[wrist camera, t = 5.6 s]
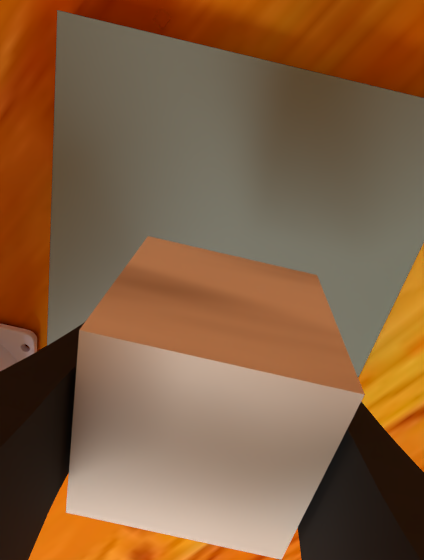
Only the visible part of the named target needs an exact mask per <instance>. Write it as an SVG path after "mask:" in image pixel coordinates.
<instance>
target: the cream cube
mask: <svg viewBox="0 0 424 560" xmlns="http://www.w3.org/2000/svg"><path fill="white" fill-rule="evenodd" d="M364 395H365V394H364V392H363V389H362V387H361V384H360V382H359V379H358V377H357V374H356V372H355V369H354V367H353V364H352V362H351V359H350V357H349V354H348V352H347V349H346V347H345V344H344V342H343V339H342V337H341V334H340V332H339V329H338V327H337V324H336V322H335V319H334V317H333V314H332V312H331V309H330V307H329V304H328V302H327V299H326V297H325V294H324V291H323V289H322V286H321V284H320V281H319V279H318V276H317V275H314V274H310V273H306V272H301V271H297V270H293V269H288V268H284V267H280V266H275V265H271V264H267V263H262V262H258V261H254V260H249V259H245V258H241V257H236V256H232V255H228V254H223V253H219V252H215V251H210V250H206V249H202V248H197V247H193V246H189V245H184V244H180V243H176V242H171V241H167V240H163V239H158V238H154V237H150V236H148V237H147V238H146V239H145V241H144V242H143V244H142V245H141V246H140V248H139V249H138V250H137V252H136V253H135V254H134V256H133V257H132V259H131V260H130V261H129V263H128V264H127V265H126V267H125V268H124V270H123V271H122V272H121V274H120V275H119V276H118V278H117V279H116V280H115V282H114V283H113V285H112V286H111V287H110V289H109V290H108V291H107V293H106V294H105V296H104V297H103V298H102V300H101V301H100V302H99V304H98V305H97V307H96V308H95V309H94V311H93V312H92V313H91V315H90V316H89V317H88V319H87V320H86V322H85V323H84V324H83V326H82V327H81V328H80V330H79V340H78V354H77V368H76V382H75V395H74V409H73V423H72V437H71V450H70V464H69V478H68V492H67V505H66V513H71V514H76V515H80V516H85V517H89V518H94V519H98V520H103V521H108V522H112V523H117V524H121V525H126V526H130V527H135V528H140V529H144V530H149V531H153V532H158V533H162V534H167V535H172V536H176V537H181V538H185V539H190V540H194V541H199V542H204V543H208V544H213V545H217V546H222V547H226V548H231V549H236V550H240V551H245V552H249V553H254V554H258V555H263V556H268V557H272V558H277V559H282V557H283V555H284V553H285V551H286V549H287V547H288V545H289V543H290V541H291V539H292V537H293V535H294V534H295V532H296V530H297V528H298V526H299V524H300V522H301V520H302V518H303V516H304V514H305V512H306V510H307V508H308V506H309V504H310V502H311V500H312V498H313V496H314V494H315V492H316V490H317V488H318V486H319V484H320V482H321V480H322V478H323V476H324V474H325V472H326V470H327V468H328V466H329V464H330V462H331V460H332V458H333V456H334V454H335V452H336V450H337V448H338V446H339V444H340V442H341V440H342V438H343V436H344V434H345V432H346V430H347V428H348V426H349V424H350V423H351V421H352V419H353V417H354V415H355V413H356V411H357V409H358V407H359V405H360V403H361V401H362V399H363V397H364Z"/></svg>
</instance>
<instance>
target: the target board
mask: <svg viewBox="0 0 424 560" xmlns="http://www.w3.org/2000/svg"><path fill="white" fill-rule="evenodd" d="M148 236H150V237H154V238H158V239H163V240H167V241H171V242H176V243H180V244H184V245H189V246H193V247H197V248H202V249H206V250H210V251H215V252H219V253H223V254H228V255H232V256H236V257H241V258H245V259H249V260H254V261H258V262H262V263H267V264H271V265H275V266H280V267H284V268H288V269H293V270H297V271H301V272H306V273H310V274H314V275H317V276H318V279H319V281H320V284H321V286H322V289H323V291H324V294H325V297H326V299H327V302H328V304H329V307H330V309H331V312H332V314H333V317H334V319H335V322H336V324H337V327H338V329H339V332H340V334H341V337H342V339H343V342H344V344H345V347H346V349H347V352H348V354H349V357H350V359H351V362H352V364H353V367H354V369H355V372H356V374H357V377H359V375H360V373H361V371H362V369H363V367H364V364H365V362H366V360H367V358H368V356H369V354H370V352H371V350H372V348H373V346H374V344H375V342H376V340H377V338H378V336H379V334H380V331H381V329H382V327H383V325H384V323H385V321H386V319H387V317H388V315H389V313H390V311H391V309H392V307H393V305H394V303H395V300H396V298H397V296H398V294H399V292H400V290H401V288H402V286H403V284H404V282H405V280H406V278H407V276H408V274H409V272H410V270H411V267H412V265H413V263H414V261H415V259H416V257H417V255H418V253H419V251H420V249H421V247H422V245H423V243H424V98H421V97H417V96H413V95H409V94H405V93H401V92H396V91H392V90H388V89H384V88H380V87H376V86H371V85H367V84H363V83H359V82H355V81H351V80H346V79H342V78H338V77H334V76H330V75H326V74H321V73H317V72H313V71H309V70H305V69H301V68H296V67H292V66H288V65H284V64H280V63H276V62H271V61H267V60H263V59H259V58H255V57H251V56H246V55H242V54H238V53H234V52H230V51H226V50H221V49H217V48H213V47H209V46H205V45H201V44H196V43H192V42H188V41H184V40H180V39H176V38H171V37H167V36H163V35H159V34H155V33H151V32H146V31H142V30H138V29H134V28H130V27H126V26H121V25H117V24H113V23H109V22H105V21H101V20H96V19H92V18H88V17H84V16H80V15H76V14H71V13H67V12H63V11H59V10H57V41H56V73H55V106H54V138H53V170H52V203H51V235H50V268H49V300H48V332H47V345H49V344H51V343H52V342H54V341H56V340H57V339H59V338H61V337H62V336H64V335H65V334H67V333H69V332H70V331H72V330H73V329H75V328H76V327H78V326H80V325H81V324H83V323H84V322H86V320H87V319H88V317H89V316H90V315H91V313H92V312H93V311H94V309H95V308H96V307H97V305H98V304H99V302H100V301H101V300H102V298H103V297H104V296H105V294H106V293H107V291H108V290H109V289H110V287H111V286H112V285H113V283H114V282H115V280H116V279H117V278H118V276H119V275H120V274H121V272H122V271H123V270H124V268H125V267H126V265H127V264H128V263H129V261H130V260H131V259H132V257H133V256H134V254H135V253H136V252H137V250H138V249H139V248H140V246H141V245H142V244H143V242H144V241H145V239H146V238H147V237H148Z"/></svg>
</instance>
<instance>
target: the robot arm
mask: <svg viewBox="0 0 424 560" xmlns="http://www.w3.org/2000/svg"><path fill="white" fill-rule="evenodd" d="M84 323H85V322H84ZM84 323H83V324H84ZM83 324H81V325H80V326H78V327H76V328H75V329H73V330H72V331H70V332H69V333H67V334H65V335H64V336H62V337H61V338H59V339H57V340H56V341H54V342H52V343H51V344H49V345H47V346H46V347H44V348H42V349H41V350H39V351H37V336H36V335H35V333H33V332H32V331H30V330H27V329H23V328H18V327H14V326H9V325H5V324H0V560H28V559H29V556H30V554H31V551H32V549H33V547H34V545H35V542H36V540H37V538H38V535H39V533H40V531H41V528H42V526H43V524H44V521H45V519H46V517H47V514H48V512H49V510H50V508H51V506H52V503H53V501H54V499H55V497H56V495H57V493H58V491H59V489H60V487H61V486H62V484H63V482H64V480H65V478H66V476H67V474H68V473H69V464H70V450H71V437H72V423H73V409H74V395H75V382H76V368H77V354H78V340H79V330H80V328H81V327H82V326H83ZM25 344H26V345H28V346H29V348H28V347H26V346H25ZM298 533H299V540H300V549H301V558H302V560H424V472H423V471H422V470H421V469H420V468H419V467H418V466H417V465H416V464H415V463H414V462H413V461H412V459H411V458H410V457H409V456H408V455H407V454H406V453H405V452H404V451H403V450H402V449H401V448H400V446H399V445H398V444H397V443H396V442H395V441H394V440H393V439H392V438H391V436H390V435H389V434H388V433H387V432H386V431H385V430H384V428H383V427H382V426H381V425H380V424H379V422H378V421H377V420H376V419H375V418H374V417H373V415H372V414H371V413H370V412H369V410H368V409H367V408H366V407H365V406H364V404H363V403H362V402H361V403H360V405H359V407H358V409H357V411H356V413H355V415H354V417H353V419H352V421H351V423H350V424H349V426H348V428H347V430H346V432H345V434H344V436H343V438H342V440H341V442H340V444H339V446H338V448H337V450H336V452H335V454H334V456H333V458H332V460H331V462H330V464H329V466H328V468H327V470H326V472H325V474H324V476H323V478H322V480H321V482H320V484H319V486H318V488H317V490H316V492H315V494H314V496H313V498H312V500H311V502H310V504H309V506H308V508H307V510H306V512H305V514H304V516H303V518H302V520H301V522H300V524H299V526H298Z"/></svg>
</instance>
